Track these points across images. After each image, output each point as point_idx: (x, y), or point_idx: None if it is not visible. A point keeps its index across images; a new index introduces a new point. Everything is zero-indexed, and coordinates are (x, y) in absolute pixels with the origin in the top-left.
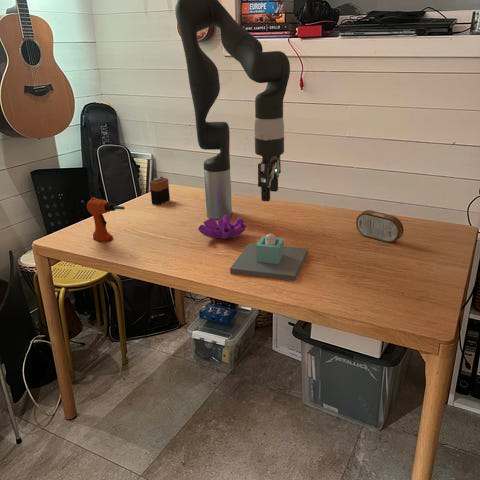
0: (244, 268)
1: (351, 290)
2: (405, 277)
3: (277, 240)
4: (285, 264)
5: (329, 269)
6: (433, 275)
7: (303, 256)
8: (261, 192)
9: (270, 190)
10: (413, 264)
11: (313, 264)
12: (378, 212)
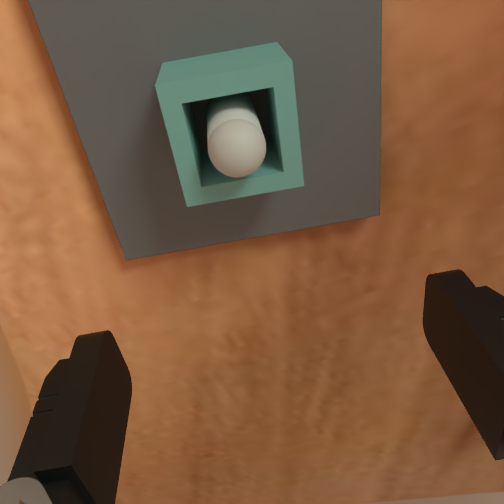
0: (61, 41)
1: (162, 383)
2: (290, 444)
3: (281, 158)
4: None
5: (264, 305)
6: (322, 475)
7: (299, 227)
8: (55, 407)
9: (431, 278)
10: (370, 441)
11: (282, 254)
12: None
